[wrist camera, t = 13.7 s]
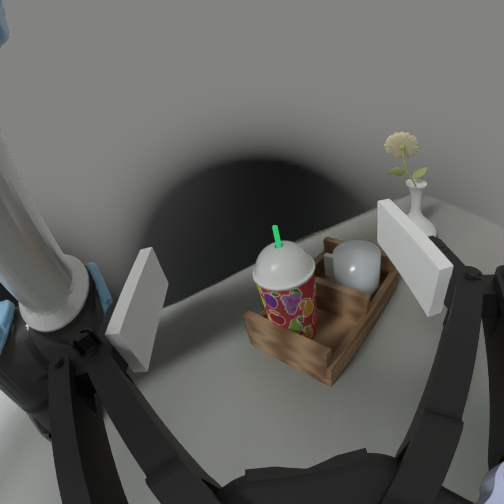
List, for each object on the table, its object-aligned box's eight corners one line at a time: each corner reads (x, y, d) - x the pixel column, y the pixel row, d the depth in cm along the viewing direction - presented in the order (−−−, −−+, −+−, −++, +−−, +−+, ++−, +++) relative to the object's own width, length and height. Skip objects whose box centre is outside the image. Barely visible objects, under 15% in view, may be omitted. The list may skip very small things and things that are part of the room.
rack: (251, 343, 49) (240, 313, 45) (326, 266, 62) (323, 236, 58) (331, 386, 38) (330, 357, 34) (396, 288, 51) (399, 255, 47)
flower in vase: (439, 230, 63) (442, 130, 50) (432, 254, 56) (439, 141, 43) (392, 221, 71) (388, 125, 58) (379, 243, 64) (375, 135, 51)
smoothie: (311, 310, 50) (295, 204, 40) (330, 344, 43) (320, 232, 33) (265, 325, 50) (236, 222, 39) (278, 362, 43) (248, 254, 32)
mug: (385, 287, 50) (387, 246, 46) (366, 316, 46) (368, 273, 41) (338, 272, 57) (335, 233, 52) (316, 297, 53) (311, 256, 48)
